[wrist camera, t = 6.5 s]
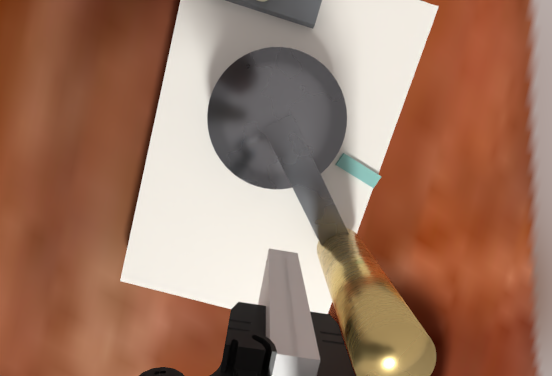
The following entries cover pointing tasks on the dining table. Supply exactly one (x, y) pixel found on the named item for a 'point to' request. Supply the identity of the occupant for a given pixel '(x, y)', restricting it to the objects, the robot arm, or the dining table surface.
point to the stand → (234, 191)
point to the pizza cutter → (314, 194)
